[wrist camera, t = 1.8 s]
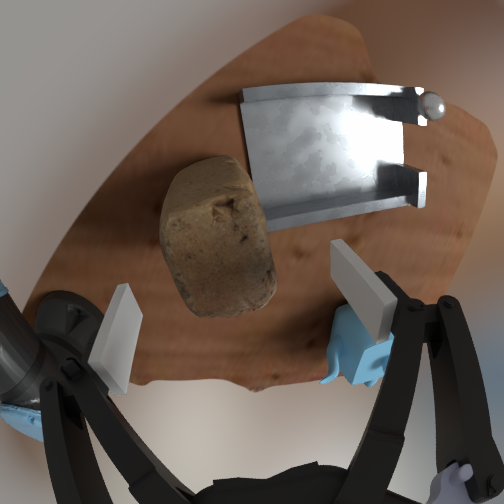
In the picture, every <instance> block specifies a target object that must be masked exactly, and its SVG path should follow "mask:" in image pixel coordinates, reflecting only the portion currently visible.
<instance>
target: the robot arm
mask: <svg viewBox="0 0 504 504" xmlns="http://www.w3.org/2000/svg"><path fill="white" fill-rule="evenodd" d="M330 259H331V278H332V280H333V281H334V282H335V284H336V285H337V287H338V288H339V290H340V291H341V292H342V294H343V295H344V297H345V298H346V300H347V301H348V303H349V304H350V306H351V307H352V308H353V310H354V311H355V313H356V314H357V316H358V317H359V319H360V320H361V322H362V323H363V325H364V326H365V328H366V329H367V331H368V332H369V334H370V335H371V337H372V339H373V340H374V342H375V343H376V344H378V343H381V342H383V341H386V340H388V339H389V335H390V331H391V333H392V334H393V336H394V339H393V343H392V346H391V351H390V355H389V359H388V363H387V366H386V370H385V373H384V377H383V380H382V383H381V386H380V390H379V393H378V396H377V399H376V402H375V405H374V407H373V410H372V413H371V416H370V419H369V421H368V424H367V426H366V429H365V431H364V434H363V436H362V439H361V441H360V443H359V446H358V448H357V450H356V452H355V455H354V457H353V459H352V461H351V463H350V465H349V467H348V469H344V468H341V467H337V466H331V465H318V462H317V461H316V462H312V463H308V464H304V465H301V466H297V467H293V468H290V469H288V470H286V471H284V472H282V473H279V474H277V475H275V476H272V477H271V478H268V479H253V478H239V477H237V478H229V479H219V480H213V485H211V486H209V487H206V488H205V489H203V490H201V491H200V492H198V493H197V494H195V493H194V492H192V491H191V490H190V489H189V488H187V487H186V486H185V485H184V484H182V483H181V482H180V481H179V480H178V479H177V478H176V477H175V476H174V475H173V474H172V473H171V472H170V471H169V470H168V469H167V468H166V467H165V465H164V464H163V463H162V462H161V461H160V460H159V459H158V458H157V457H156V456H155V455H154V454H153V452H152V451H151V450H150V449H149V448H148V447H147V445H146V444H145V443H144V442H143V441H142V439H141V438H140V437H139V436H138V434H137V433H136V432H135V431H134V430H133V428H132V427H131V426H130V424H129V423H128V422H127V420H126V419H125V418H124V416H123V415H122V414H121V412H120V411H119V409H118V408H117V407H116V405H115V404H114V403H113V401H112V399H111V398H110V397H109V396H108V391H109V390H110V391H111V392H112V393H113V394H114V395H126V393H127V387H128V382H129V377H130V372H131V366H132V362H133V357H134V352H135V347H136V343H137V338H138V334H139V330H140V326H141V322H142V318H143V315H142V313H141V311H140V308H139V306H138V304H137V302H136V300H135V298H134V296H133V293H132V291H131V289H130V287H129V284H128V283H125V284H120V285H118V286H117V288H116V290H115V293H114V295H113V297H112V299H111V302H110V304H109V307H108V309H107V311H106V314H105V316H104V315H103V314H102V312H101V311H100V310H99V309H98V308H97V307H96V306H95V305H93V304H92V303H91V302H89V301H88V300H86V299H85V298H83V297H81V296H79V295H77V294H74V293H71V292H67V291H54V292H51V293H49V294H48V295H46V296H45V297H44V298H43V300H42V301H41V303H40V304H39V306H38V308H37V311H36V319H35V324H34V329H32V328H31V327H30V325H29V324H28V322H27V321H26V320H25V318H24V317H23V315H22V314H21V312H20V311H19V309H18V308H17V306H16V305H15V303H14V301H13V300H12V298H11V297H10V295H9V294H8V289H7V288H6V287H5V286H4V285H3V283H2V282H1V280H0V402H1V403H0V416H1V417H2V419H3V420H4V421H5V422H6V423H8V424H9V425H10V426H12V427H13V428H15V429H16V430H18V431H20V432H22V433H24V434H25V435H28V436H30V437H32V438H34V439H37V440H39V441H42V442H44V446H45V453H46V458H47V464H48V468H49V474H50V478H51V482H52V486H53V490H54V494H55V497H56V501H57V504H113V502H112V500H111V498H110V495H109V492H108V490H107V488H106V485H105V482H104V480H103V477H102V475H101V472H100V469H99V466H98V463H97V460H96V457H95V454H94V451H93V447H92V444H91V440H90V437H89V433H88V429H87V425H86V421H85V418H86V420H87V421H88V423H89V425H90V427H91V429H92V430H93V432H94V434H95V435H96V437H97V439H98V440H99V442H100V444H101V445H102V447H103V448H104V450H105V452H106V453H107V455H108V456H109V458H110V459H111V461H112V462H113V463H114V465H115V466H116V468H117V469H118V471H119V472H120V473H121V475H122V476H123V477H124V479H125V480H126V481H127V483H128V484H129V488H128V489H129V491H130V493H131V494H132V495H133V497H134V498H135V499H136V500H137V502H138V503H139V504H421V503H419V502H416V501H413V500H411V499H409V498H406V497H404V496H401V495H399V494H396V493H394V492H392V491H390V490H387V488H388V485H389V483H390V480H391V478H392V475H393V473H394V470H395V468H396V465H397V462H398V459H399V456H400V453H401V450H402V447H403V444H404V440H405V437H404V431H405V427H406V424H407V421H408V417H409V413H410V409H411V405H412V401H413V396H414V392H415V387H416V382H417V377H418V372H419V366H420V360H421V353H422V346H423V343H427V346H428V353H429V359H430V366H431V373H432V381H433V391H434V402H435V418H436V465H437V473H438V474H437V475H436V476H435V477H434V479H433V480H432V482H431V486H430V497H429V499H428V501H427V503H426V504H481V503H483V502H485V501H488V500H490V499H492V498H494V497H496V496H498V495H499V494H500V493H501V492H502V491H503V489H504V464H503V461H502V459H501V456H500V454H499V451H498V449H497V447H496V444H495V442H494V440H493V437H492V432H491V424H490V416H489V409H488V404H487V398H486V393H485V387H484V383H483V378H482V374H481V370H480V366H479V362H478V358H477V354H476V351H475V347H474V344H473V341H472V337H471V335H470V332H469V328H468V325H467V322H466V319H465V317H464V314H463V311H462V308H461V306H460V303H459V301H458V300H457V299H456V298H455V297H452V296H449V295H444V296H441V297H440V298H439V300H438V302H437V304H430V305H425V304H424V303H423V302H422V301H420V300H418V299H413V298H409V296H408V295H407V294H406V293H405V292H404V291H403V290H402V289H401V288H400V287H399V286H398V285H397V284H396V283H395V282H394V281H393V280H392V279H391V278H390V277H389V275H387V274H385V273H383V272H382V271H378V272H375V273H374V272H373V271H372V270H371V269H370V268H369V267H368V266H367V265H366V264H365V263H364V262H363V261H362V260H361V259H360V258H359V257H358V255H357V254H356V253H355V252H354V251H353V250H352V249H351V248H350V247H349V246H348V245H347V244H346V243H345V242H344V241H343V240H342V239H337V240H332V241H330ZM84 416H85V417H84Z"/></svg>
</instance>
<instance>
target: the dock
mask: <svg viewBox="0 0 504 504" xmlns="http://www.w3.org/2000/svg"><path fill="white" fill-rule="evenodd" d="M238 97H239V103H240V109H241V115H242V121H243V127H244V133H245V139H246V145H247V151H248V157H249V163H250V169H251V176H252V182H253V184H254V187H255V189H256V192H257V195H258V198H259V201H260V204H261V206H262V208H263V211H264V214H265V217H266V222H267V228H268V232H272V231H276V230H281V229H286V228H291V227H296V226H301V225H306V224H311V223H316V222H321V221H326V220H331V219H337V218H342V217H347V216H352V215H357V214H363V213H368V212H373V211H379V210H384V209H389V208H395V207H400V206H406V205H413V206H414V207H416V208H422V207H425V197H426V178H427V172H425V171H423V170H420V169H417V168H414V167H412V166H409V165H406V164H403V138H402V123H409V124H416V125H426V120H429V121H439V120H440V119H442V118H443V117H444V115H445V111H446V107H445V103H444V101H443V99H442V98H441V97H440V96H439V95H438V94H436V93H434V92H431V91H426V92H423V88H418V87H402V86H393V85H382V84H368V83H339V82H326V83H296V84H281V85H270V86H260V87H252V88H244V89H241V90H240V91H239V92H238Z"/></svg>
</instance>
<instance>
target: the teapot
mask: <svg viewBox="0 0 504 504" xmlns="http://www.w3.org/2000/svg"><path fill="white" fill-rule="evenodd" d="M393 339H394V336H393V334H392V333H391V331H390V335H389V339H388V340H386V341H383V342H381V343H378V344H376V343H375V342H374V340H373V339H372V337H371V335H370V334H369V332H368V331H367V329H366V328H365V326H364V325H363V323H362V322H361V320H360V319H359V317H358V316H357V314H356V313H355V311H354V310H353V308H352V307H351V306H350V304H349V303H347V304H345V305H342V306H340V307H338V308H337V309H336V311H335V315H334V320H333V324H332V330H331V335H330V342H329V344H328V347H327V351H326V357H327V363H328V369H329V370H328V374H327V376H326V377H325V378H324V379H323V380H321V382H320V384H325V383H328V382H330V381H332V380H334V379H335V378H336V377H337V375H338V373H339V370H340V372H341V373H342V374H343V376H344V377H345V378H346V379H347V380H348V382H349V383H350V384H352V385H355V384H360V383H364V384H365V385H366V386H367V387H371V386H373V385H374V384H375V383H376V382H377V380H378V378H380V377H382V376H384V373H385V370H386V366H387V363H388V359H389V355H390V351H391V346H392V343H393Z"/></svg>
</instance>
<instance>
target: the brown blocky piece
mask: <svg viewBox="0 0 504 504" xmlns="http://www.w3.org/2000/svg"><path fill="white" fill-rule="evenodd" d="M159 241H160V245H161V249H162V252H163V256H164V259H165V261H166V263H167V265H168V267H169V269H170V271H171V274H172V276H173V279H174V282H175V284H176V286H177V289H178V291H179V293H180V295H181V297H182V298H183V300H184V302H185V304H186V306H187V307H188V309H189V310H190V311H191V312H192V313H194V314H195V315H196V316H198V317H203V318H211V317H226V318H228V317H234V316H240V315H243V314H245V313H246V312H247V311H250V310H254V311H256V310H259V309H261V308H263V307H264V306H266V305H267V303H268V302H269V300H270V299H271V298H272V296H273V295H274V293H275V291H276V289H277V274H276V270H275V266H274V262H273V259H272V253H271V248H270V242H269V234H268V228H267V222H266V217H265V214H264V211H263V208H262V206H261V204H260V201H259V198H258V195H257V192H256V189H255V187H254V184H253V182H252V181H251V179H250V177H249V175H248V173H247V172H246V171H245V170H244V168H243V167H242V165H241V164H240V163H239V162H238V161H237V160H236V159H235V158H234V157H232V156H229V155H221V156H216V157H212V158H208V159H204V160H201V161H198V162H196V163H194V164H192V165H190V166H188V167H186V168H184V169H183V170H181V171H179V172H178V173H177V174H176V176H175V177H174V179H173V181H172V183H171V185H170V187H169V189H168V192H167V194H166V197H165V200H164V203H163V208H162V212H161V216H160V225H159Z"/></svg>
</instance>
